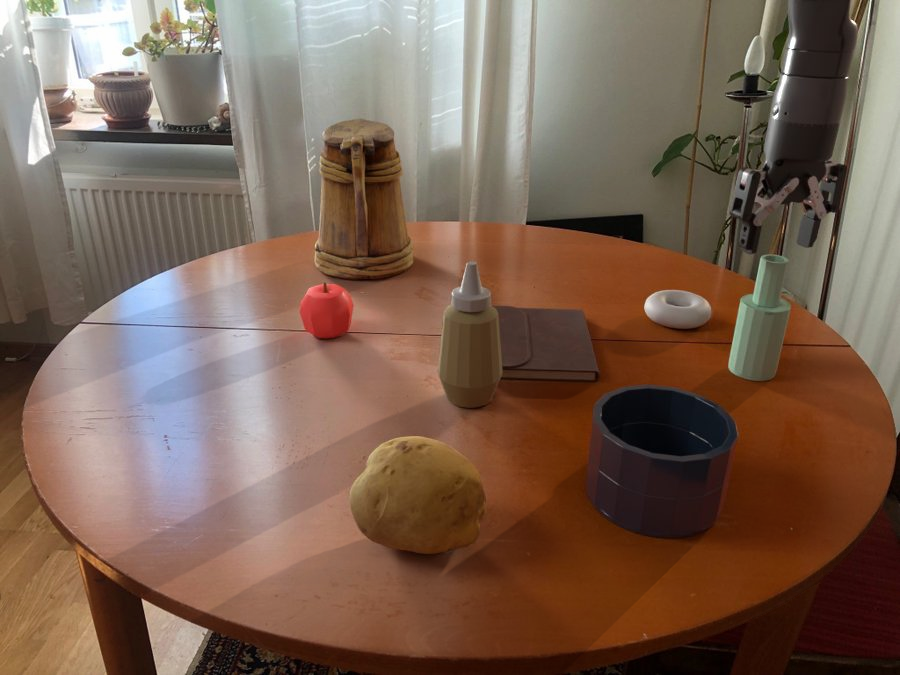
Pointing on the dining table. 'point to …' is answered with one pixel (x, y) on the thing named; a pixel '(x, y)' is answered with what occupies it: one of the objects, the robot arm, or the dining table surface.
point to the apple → (326, 310)
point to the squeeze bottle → (470, 344)
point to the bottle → (761, 323)
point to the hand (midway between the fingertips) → (776, 249)
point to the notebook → (546, 344)
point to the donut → (677, 309)
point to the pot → (660, 460)
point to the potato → (418, 497)
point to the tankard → (361, 203)
